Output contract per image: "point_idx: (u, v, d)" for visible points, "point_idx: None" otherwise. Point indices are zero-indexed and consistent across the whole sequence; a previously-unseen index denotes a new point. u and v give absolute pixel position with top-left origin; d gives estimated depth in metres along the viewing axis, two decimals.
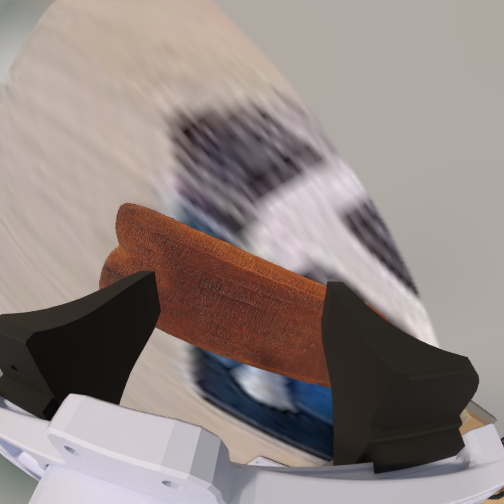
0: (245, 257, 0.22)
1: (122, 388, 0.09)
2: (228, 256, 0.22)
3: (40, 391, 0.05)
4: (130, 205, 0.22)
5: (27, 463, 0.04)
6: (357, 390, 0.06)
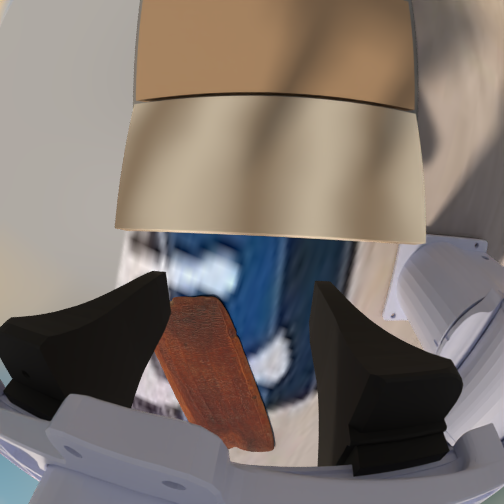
0: (183, 409, 0.30)
1: (134, 391, 0.09)
2: (189, 416, 0.31)
3: (53, 397, 0.05)
4: None
5: (27, 463, 0.04)
6: (338, 391, 0.06)
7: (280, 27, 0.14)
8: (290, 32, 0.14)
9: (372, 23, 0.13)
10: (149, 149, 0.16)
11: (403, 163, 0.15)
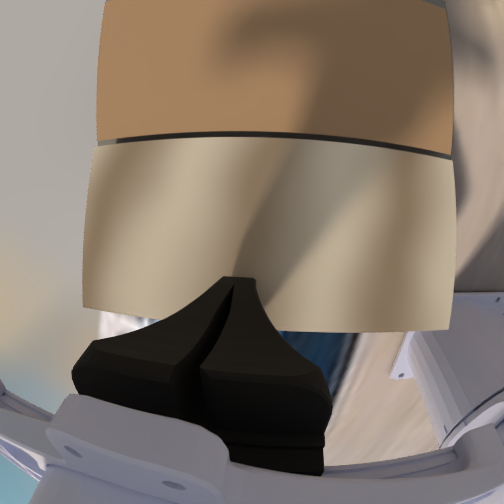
0: None
1: None
2: None
3: None
4: None
5: (27, 463, 0.04)
6: None
7: (281, 39, 0.10)
8: (294, 46, 0.10)
9: (403, 36, 0.09)
10: (114, 211, 0.13)
11: (435, 231, 0.11)
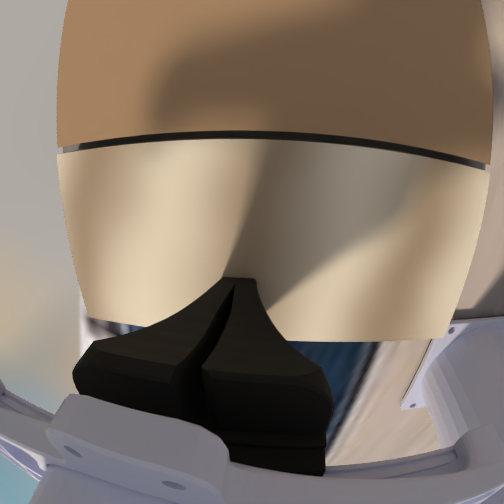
0: None
1: None
2: None
3: None
4: None
5: (27, 463, 0.04)
6: None
7: (283, 12, 0.07)
8: (301, 21, 0.07)
9: (434, 16, 0.06)
10: (96, 229, 0.11)
11: (451, 252, 0.10)
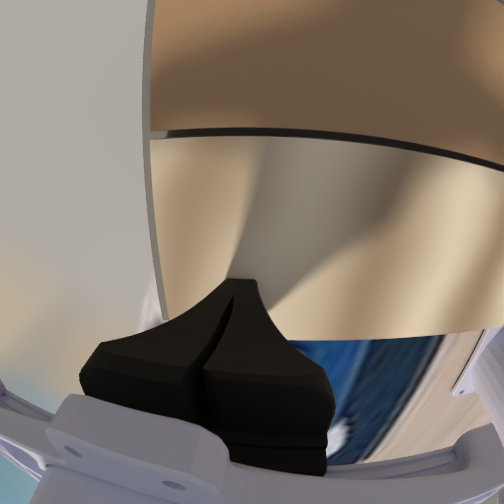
0: None
1: None
2: None
3: None
4: None
5: (27, 463, 0.04)
6: None
7: (414, 29, 0.07)
8: (428, 41, 0.07)
9: None
10: (202, 232, 0.11)
11: None
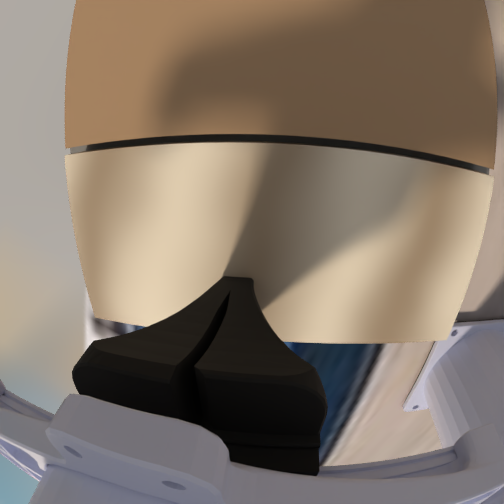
0: None
1: None
2: None
3: None
4: None
5: (27, 463, 0.04)
6: None
7: (292, 16, 0.07)
8: (309, 25, 0.08)
9: (440, 22, 0.07)
10: (103, 230, 0.11)
11: (455, 255, 0.10)
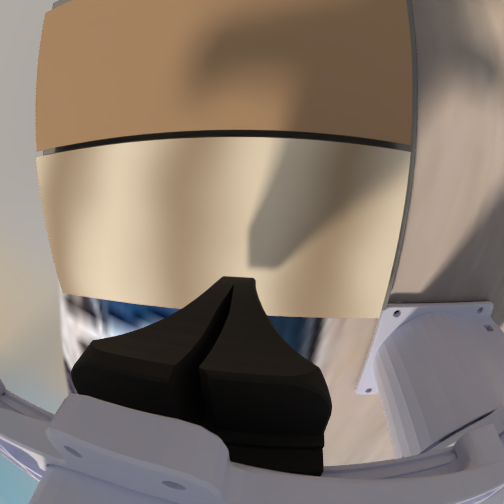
0: None
1: None
2: None
3: None
4: None
5: (27, 463, 0.04)
6: None
7: (202, 29, 0.09)
8: (216, 35, 0.09)
9: (346, 10, 0.08)
10: (65, 217, 0.13)
11: (372, 231, 0.12)
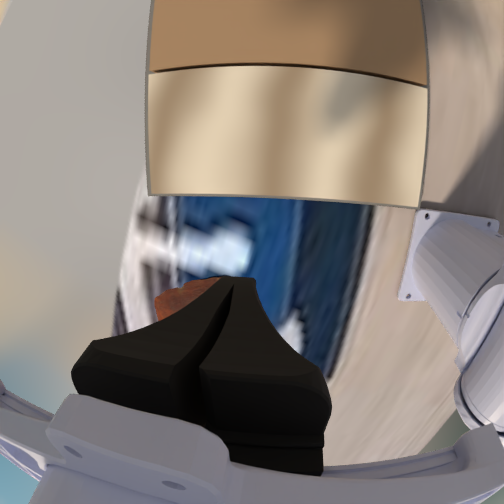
0: None
1: None
2: None
3: None
4: None
5: (27, 463, 0.04)
6: None
7: (295, 3, 0.13)
8: (305, 7, 0.13)
9: (383, 2, 0.12)
10: (173, 121, 0.17)
11: (408, 137, 0.16)
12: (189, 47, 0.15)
